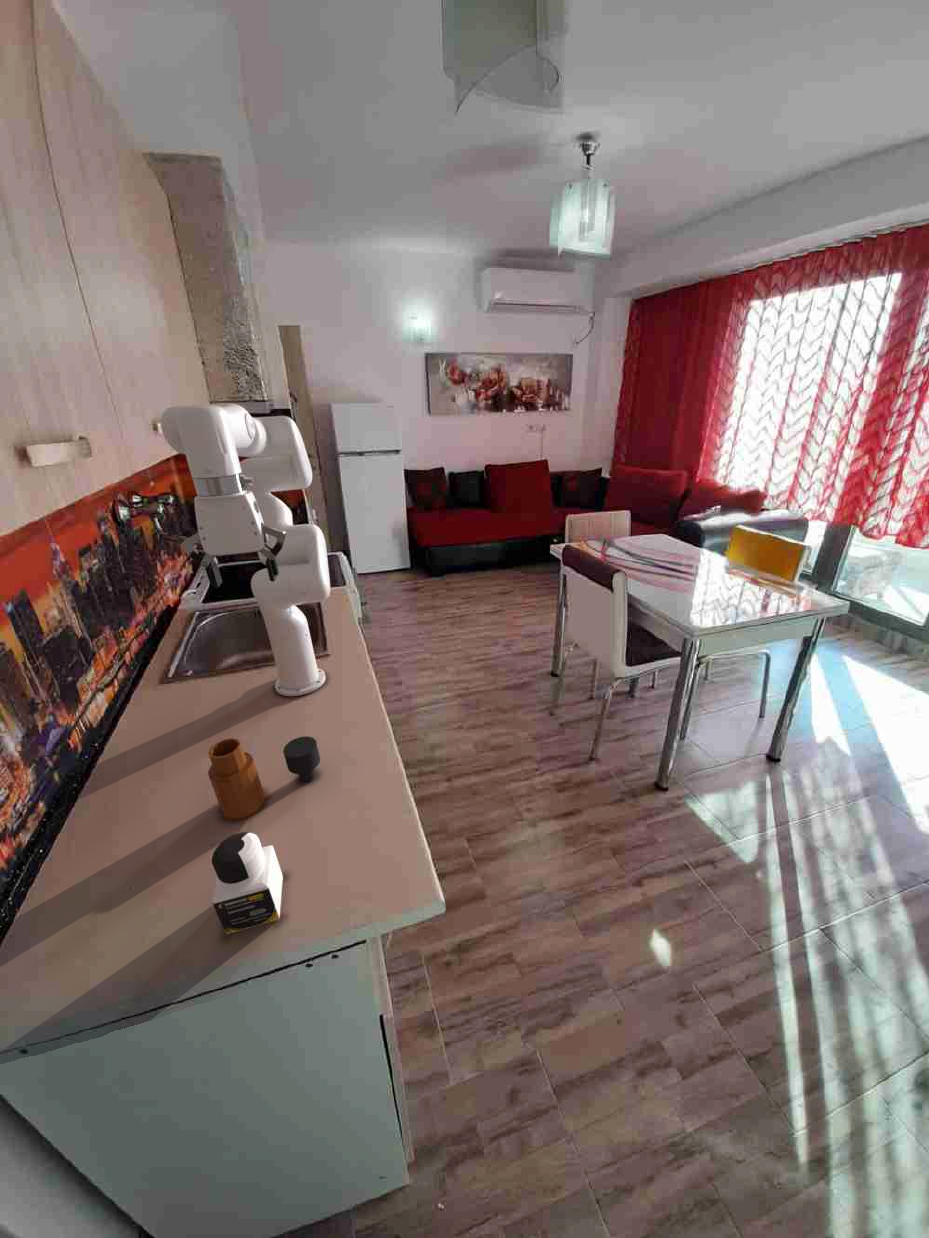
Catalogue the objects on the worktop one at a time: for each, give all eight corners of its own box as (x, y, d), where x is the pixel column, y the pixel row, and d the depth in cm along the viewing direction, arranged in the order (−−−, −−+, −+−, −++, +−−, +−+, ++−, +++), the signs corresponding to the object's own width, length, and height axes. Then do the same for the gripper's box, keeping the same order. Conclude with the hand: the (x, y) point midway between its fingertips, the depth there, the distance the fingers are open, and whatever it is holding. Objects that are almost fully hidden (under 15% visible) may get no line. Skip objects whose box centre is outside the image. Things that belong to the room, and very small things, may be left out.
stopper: (293, 769, 94) (285, 739, 91) (324, 763, 95) (317, 733, 92) (289, 791, 89) (281, 760, 86) (322, 785, 90) (315, 754, 87)
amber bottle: (227, 792, 89) (208, 738, 84) (267, 785, 90) (250, 731, 85) (217, 823, 83) (195, 766, 77) (260, 814, 84) (242, 758, 78)
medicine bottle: (225, 936, 65) (200, 877, 60) (234, 889, 71) (211, 832, 66) (280, 920, 67) (259, 862, 61) (283, 876, 73) (265, 819, 68)
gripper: (277, 478, 84) (297, 570, 91) (172, 487, 81) (201, 581, 88) (270, 485, 77) (292, 583, 84) (156, 495, 74) (189, 595, 82)
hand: (246, 582), depth 86 cm, fingers open, 9 cm apart
